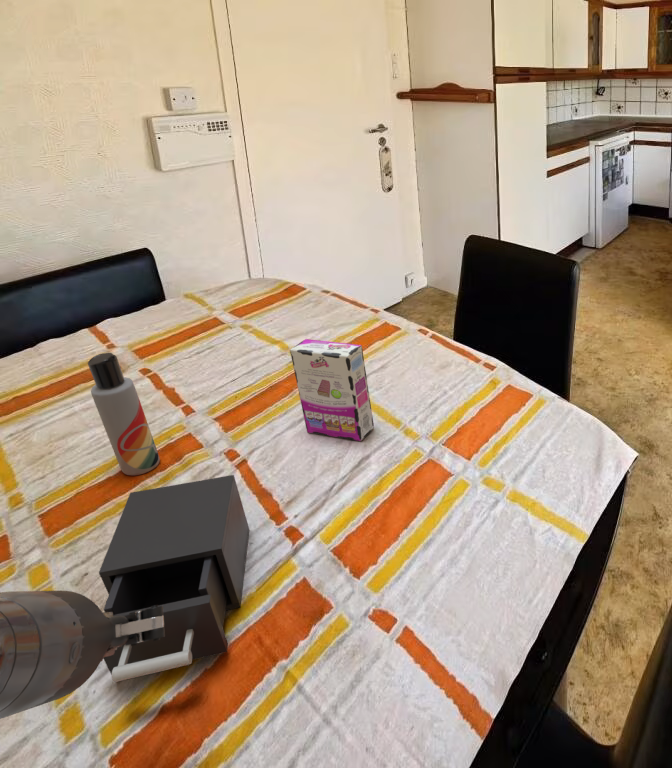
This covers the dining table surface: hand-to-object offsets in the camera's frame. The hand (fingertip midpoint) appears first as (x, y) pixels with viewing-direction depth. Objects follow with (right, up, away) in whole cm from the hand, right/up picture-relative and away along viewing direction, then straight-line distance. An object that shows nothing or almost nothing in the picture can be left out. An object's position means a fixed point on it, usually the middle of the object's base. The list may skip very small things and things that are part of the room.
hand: (122, 632), depth 57 cm
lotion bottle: (-25, +9, +45) cm, 53 cm away
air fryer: (-6, -2, +24) cm, 24 cm away
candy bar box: (+5, +14, +54) cm, 56 cm away
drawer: (-3, -6, +15) cm, 16 cm away
